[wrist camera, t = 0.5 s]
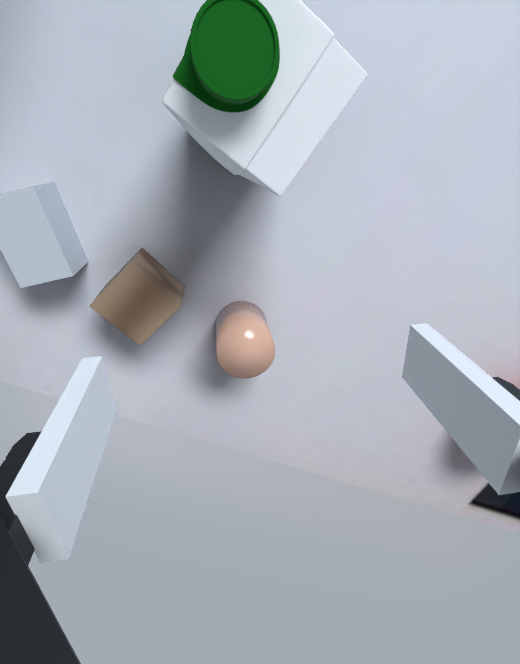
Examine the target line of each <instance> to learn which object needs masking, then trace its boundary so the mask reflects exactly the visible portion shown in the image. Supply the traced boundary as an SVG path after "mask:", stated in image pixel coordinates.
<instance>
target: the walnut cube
mask: <svg viewBox="0 0 520 664" xmlns="http://www.w3.org/2000/svg"><path fill="white" fill-rule="evenodd" d="M184 288H185V286H184V285H183V284H182V283H180V282H179V281H178V280H177V279H176V278H175V277H174V276H173V275H172V274H171V273H169V272H168V271H167V270H166V269H165V268H164V267H163V266H162V265H161V264H159V263H158V262H157V261H156V260H155V259H154V258H153V257H152V256H151V255H150V254H148V253H147V252H146V251H145V250H144V249H143V248H141V249H140V250H139V251H138V252H137V253H136V254H135V256H134V257H133V258H132V259H131V260H130V261H129V262H128V263H127V264H126V265H125V266H124V267H123V268H122V269H121V270H120V271H119V272H118V273H117V274H116V275H115V276H114V277H113V278H112V279H111V280H110V281H109V282H108V284H107V285H106V286H105V287H104V288H103V289H102V291H101V292H100V293H99V295H98V296H97V297H96V299H95V300H94V301H93V302H92V304H91V305H90V306H89V307H91V308H92V309H93V310H95V311H96V312H97V313H99V314H100V315H101V316H102V317H104V318H105V319H106V320H108V321H109V322H110V323H111V324H113V325H114V326H115V327H117V328H118V329H119V330H120V331H122V332H123V333H124V334H126V335H127V336H128V337H129V338H131V339H132V340H133V341H135V342H136V343H137V344H139V345H141V344H142V343H143V342H144V341H145V340H146V339H147V338H148V337H149V336H150V335H151V334H153V333H154V332H155V331H156V330H157V329H158V328H159V327H160V326H161V325H162V324H163V323H164V322H165V321H166V320H167V319H168V318H169V317H170V316H171V315H172V314H174V313H175V312H176V311H177V310H178V309H179V308H180V307H181V303H182V298H183V293H184Z"/></svg>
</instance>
